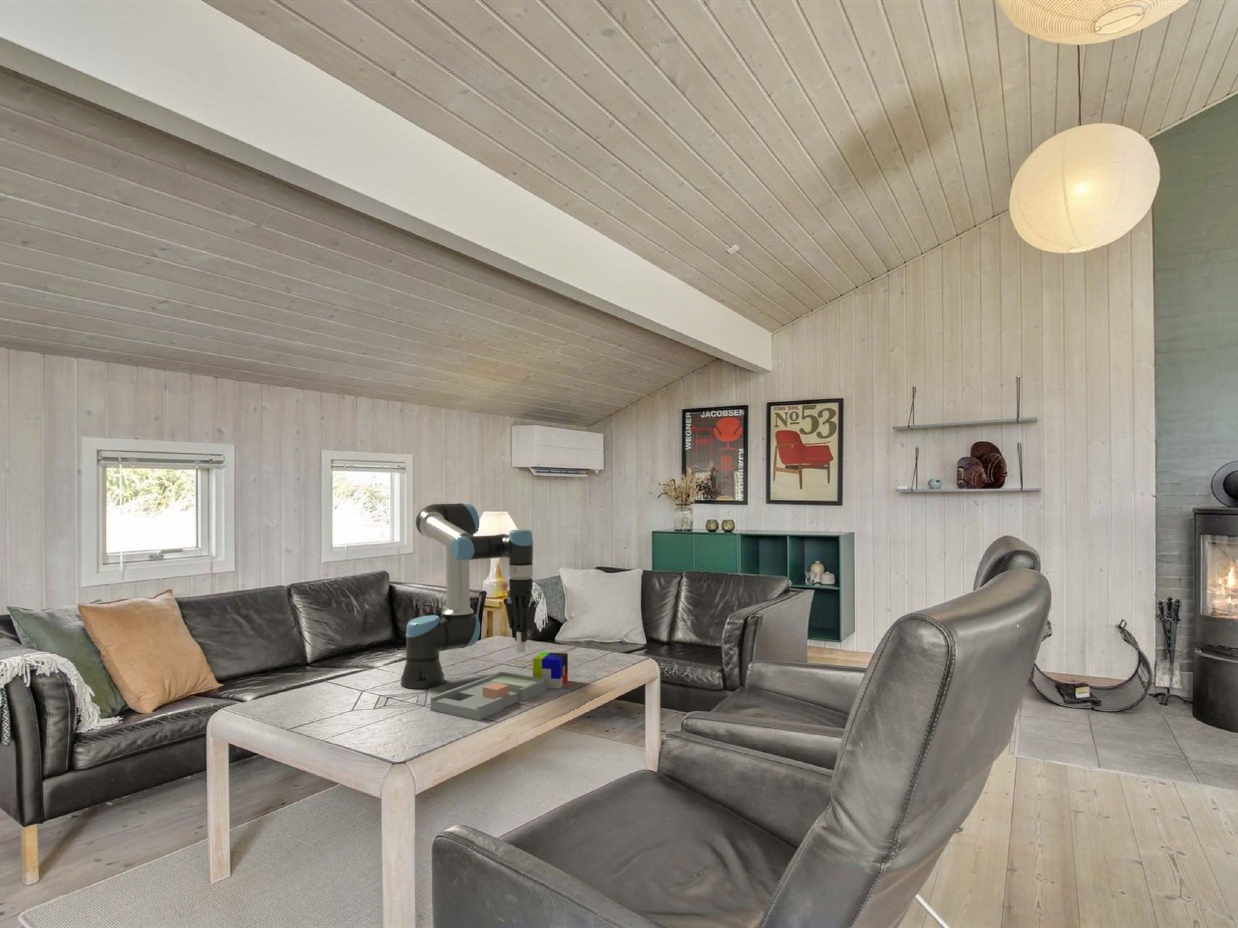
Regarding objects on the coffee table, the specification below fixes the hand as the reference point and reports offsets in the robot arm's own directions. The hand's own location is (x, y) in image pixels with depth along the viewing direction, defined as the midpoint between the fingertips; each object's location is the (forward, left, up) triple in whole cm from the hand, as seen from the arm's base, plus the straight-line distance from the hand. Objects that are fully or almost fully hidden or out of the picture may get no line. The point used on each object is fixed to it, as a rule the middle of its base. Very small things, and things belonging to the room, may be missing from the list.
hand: (521, 651), depth 223 cm
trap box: (-14, +2, -18) cm, 23 cm away
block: (-9, -1, -15) cm, 18 cm away
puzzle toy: (-8, +28, -18) cm, 34 cm away
